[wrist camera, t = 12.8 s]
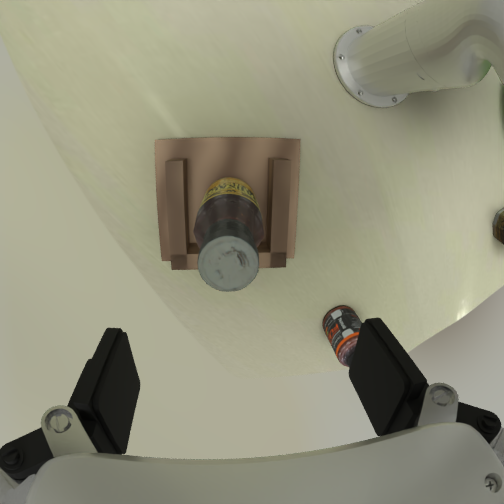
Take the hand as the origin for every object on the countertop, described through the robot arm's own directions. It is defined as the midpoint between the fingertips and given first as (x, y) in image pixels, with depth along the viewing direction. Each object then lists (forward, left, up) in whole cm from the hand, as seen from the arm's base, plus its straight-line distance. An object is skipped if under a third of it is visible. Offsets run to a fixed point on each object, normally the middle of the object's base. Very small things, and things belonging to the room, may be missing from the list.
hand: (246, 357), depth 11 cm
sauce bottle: (0, 0, -29) cm, 29 cm away
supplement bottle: (-18, +20, -31) cm, 41 cm away
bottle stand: (0, 0, -30) cm, 30 cm away
